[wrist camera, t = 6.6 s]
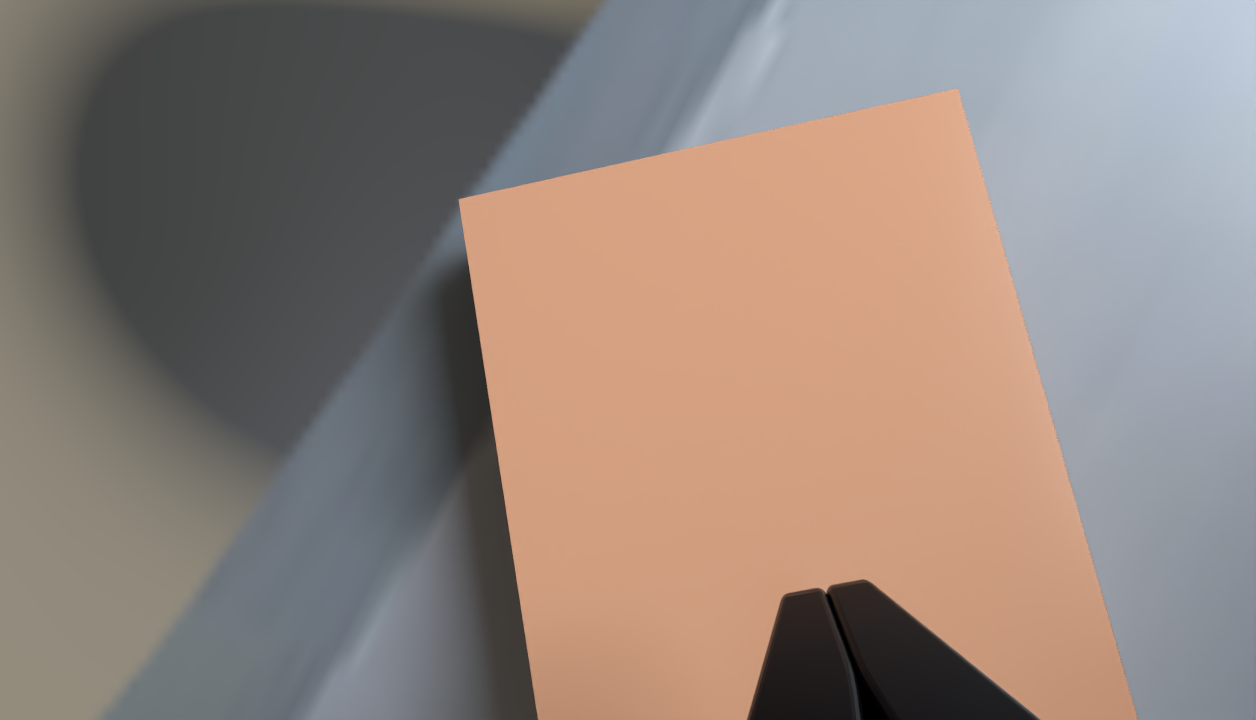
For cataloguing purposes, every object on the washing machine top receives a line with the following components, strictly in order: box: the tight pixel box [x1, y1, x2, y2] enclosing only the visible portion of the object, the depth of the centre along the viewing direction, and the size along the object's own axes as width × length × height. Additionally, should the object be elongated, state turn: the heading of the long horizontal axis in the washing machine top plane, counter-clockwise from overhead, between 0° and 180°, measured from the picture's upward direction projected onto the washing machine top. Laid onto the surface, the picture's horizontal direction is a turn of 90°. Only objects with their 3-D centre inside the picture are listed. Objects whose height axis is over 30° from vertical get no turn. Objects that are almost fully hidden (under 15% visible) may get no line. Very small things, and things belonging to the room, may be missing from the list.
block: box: [459, 89, 1138, 720], centre depth 15 cm, size 3×8×10 cm
